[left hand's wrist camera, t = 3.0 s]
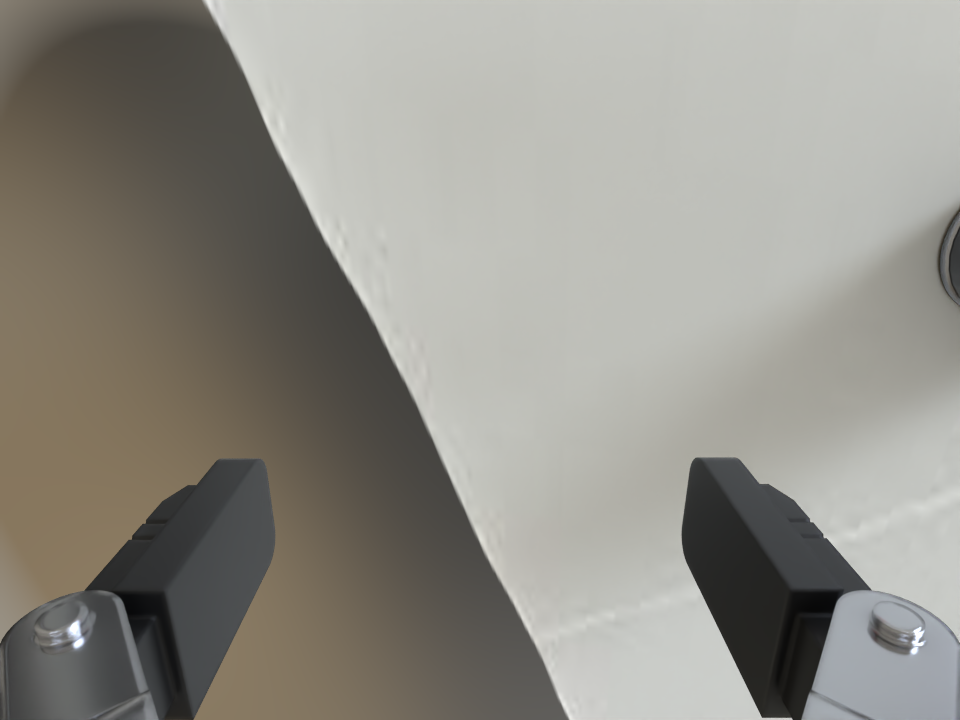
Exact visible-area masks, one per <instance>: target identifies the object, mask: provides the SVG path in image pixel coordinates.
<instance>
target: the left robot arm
mask: <svg viewBox="0 0 960 720" xmlns="http://www.w3.org/2000/svg"><path fill="white" fill-rule="evenodd" d="M940 272H941V277H942V281H943V284H944V286H945V289H946V290H947V292H948V294H949V295H950V297H951V298H952V299H953V300H954V301H955V302H956V303H957V304H958V305H960V212H959V213H958V214H957V216H956V217H955V219H954V220H953V222H952V224H951V226H950V228H949V229H948V232H947V234H946V236H945V239H944V242H943V246H942V250H941V256H940ZM274 546H275V526H274V519H273V511H272V504H271V497H270V490H269V483H268V475H267V469H266V466H265V463H264V461H263V460H262V459H219V460H217V461H216V462H215V463H214V465H213V466H212V467H211V468H210V469H209V471H208V472H207V473H206V474H205V476H204V477H203V478H202V479H201V480H200V482H199V483H198V484H197V485H188V486H186V487H185V488H183V489H181V490H180V491H178V492H176V493H175V494H173V495H172V496H170V497H169V498H167V499H165V500H164V501H162V502H161V504H160V505H159V506H158V507H157V508H156V509H155V510H154V512H153V513H152V514H151V515H150V516H149V517H148V519H147V520H146V524H142V525H141V526H140V528H139V529H138V530H137V531H136V532H135V533H134V534H133V536H132V540H128V541H127V543H126V544H125V545H124V546H123V547H122V548H121V549H120V550H119V552H118V553H117V554H116V555H115V556H114V557H113V559H112V560H111V561H110V562H109V563H108V564H107V565H106V567H105V568H104V569H103V570H102V571H101V572H100V573H99V575H98V576H97V577H96V578H95V579H94V580H93V581H92V583H91V584H90V585H89V586H88V587H87V588H86V589H85V591H81V592H76V593H72V594H68V595H65V596H62V597H59V598H57V599H54V600H52V601H49V602H47V603H45V604H43V605H41V606H39V607H38V608H36V609H34V610H33V611H31V612H29V613H28V614H27V615H25V616H24V617H23V618H21V619H20V620H19V621H18V622H17V623H15V624H14V625H13V626H12V627H11V628H10V630H9V631H8V632H7V633H6V635H5V636H4V637H3V639H2V641H1V643H0V720H193V719H194V717H195V715H196V713H197V711H198V709H199V707H200V705H201V703H202V701H203V699H204V697H205V695H206V693H207V691H208V689H209V687H210V685H211V683H212V681H213V679H214V677H215V675H216V673H217V671H218V669H219V667H220V665H221V663H222V661H223V659H224V657H225V655H226V652H227V651H228V648H229V646H230V644H231V642H232V640H233V638H234V636H235V634H236V632H237V630H238V628H239V626H240V624H241V622H242V620H243V618H244V616H245V614H246V612H247V610H248V608H249V606H250V604H251V602H252V600H253V598H254V596H255V594H256V592H257V590H258V588H259V586H260V584H261V582H262V580H263V577H264V575H265V573H266V571H267V569H268V567H269V565H270V563H271V560H272V557H273V552H274ZM682 546H683V552H684V556H685V559H686V562H687V564H688V566H689V569H690V571H691V573H692V575H693V577H694V579H695V581H696V583H697V585H698V587H699V589H700V591H701V593H702V595H703V597H704V599H705V601H706V603H707V605H708V608H709V610H710V612H711V614H712V616H713V618H714V620H715V622H716V624H717V626H718V628H719V630H720V632H721V634H722V636H723V638H724V640H725V642H726V644H727V647H728V649H729V651H730V653H731V655H732V657H733V659H734V661H735V663H736V665H737V667H738V669H739V671H740V673H741V675H742V677H743V679H744V681H745V684H746V686H747V688H748V690H749V692H750V694H751V696H752V698H753V700H754V702H755V704H756V706H757V708H758V710H759V712H760V714H761V716H762V718H792V719H793V720H960V643H959V641H958V639H957V637H956V636H955V635H954V633H953V632H952V631H951V630H950V628H949V627H948V626H947V625H946V624H945V623H943V622H942V621H941V620H940V619H939V618H938V617H936V616H935V615H933V614H932V613H931V612H929V611H927V610H926V609H924V608H922V607H921V606H919V605H917V604H915V603H913V602H911V601H908V600H906V599H903V598H901V597H898V596H895V595H892V594H888V593H884V592H879V591H872V590H871V589H870V588H869V587H868V585H867V584H866V583H865V582H864V581H863V580H862V578H861V577H860V576H859V575H858V574H857V573H856V572H855V570H854V569H853V568H852V567H851V566H850V565H849V563H848V562H847V561H846V560H845V559H844V558H843V557H842V555H841V554H840V553H839V552H838V551H837V550H836V548H835V547H834V546H833V545H832V544H831V543H830V542H829V540H828V539H827V538H824V537H823V533H822V532H821V531H820V530H819V529H818V528H817V527H816V525H815V524H814V523H810V518H809V517H808V516H807V515H806V514H805V513H804V512H803V510H802V509H801V508H800V507H799V506H798V505H797V503H796V502H795V501H794V500H793V499H791V498H789V497H788V496H786V495H785V494H783V493H782V492H780V491H778V490H777V489H775V488H774V487H772V486H771V485H769V484H759V483H758V482H757V480H756V479H755V478H754V477H753V475H752V474H751V473H750V472H749V470H748V469H747V468H746V467H745V466H744V464H743V463H742V462H741V461H740V460H739V459H738V458H695V459H694V460H693V461H692V464H691V467H690V473H689V480H688V487H687V495H686V502H685V509H684V517H683V524H682Z"/></svg>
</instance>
